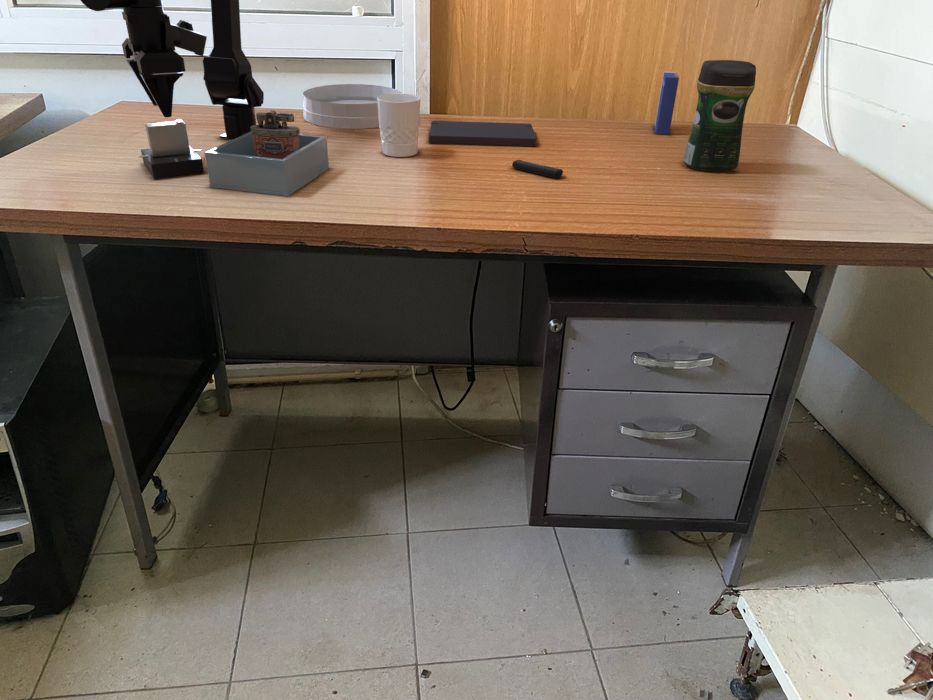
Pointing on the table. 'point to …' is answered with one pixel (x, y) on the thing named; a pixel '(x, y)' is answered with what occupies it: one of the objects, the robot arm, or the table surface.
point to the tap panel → (173, 164)
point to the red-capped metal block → (167, 138)
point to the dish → (344, 105)
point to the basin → (266, 166)
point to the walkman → (666, 102)
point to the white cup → (399, 123)
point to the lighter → (275, 135)
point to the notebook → (482, 133)
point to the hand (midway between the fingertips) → (162, 111)
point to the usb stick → (537, 168)
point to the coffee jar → (719, 115)
